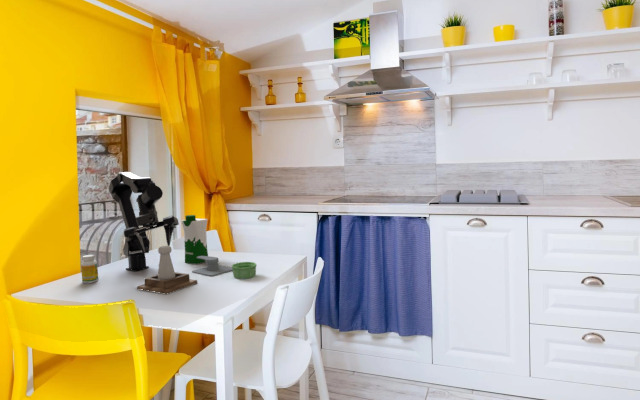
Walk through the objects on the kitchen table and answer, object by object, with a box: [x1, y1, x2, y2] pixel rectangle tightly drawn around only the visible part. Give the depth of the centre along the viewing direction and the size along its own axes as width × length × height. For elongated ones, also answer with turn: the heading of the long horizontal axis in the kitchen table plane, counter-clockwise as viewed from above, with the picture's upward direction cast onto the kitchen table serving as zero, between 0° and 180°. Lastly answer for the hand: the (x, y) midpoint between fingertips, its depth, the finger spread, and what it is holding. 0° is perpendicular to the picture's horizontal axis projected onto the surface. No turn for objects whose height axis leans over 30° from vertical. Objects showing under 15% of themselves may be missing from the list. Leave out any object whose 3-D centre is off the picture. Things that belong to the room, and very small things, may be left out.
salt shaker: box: [157, 245, 176, 280], centre depth 158 cm, size 6×6×13 cm
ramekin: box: [231, 261, 257, 280], centre depth 169 cm, size 9×9×4 cm
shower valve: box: [191, 255, 233, 278], centre depth 179 cm, size 12×6×15 cm
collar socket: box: [136, 271, 198, 295], centre depth 159 cm, size 14×14×4 cm
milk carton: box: [180, 214, 209, 265], centre depth 194 cm, size 9×9×20 cm
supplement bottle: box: [80, 254, 99, 284], centre depth 168 cm, size 5×5×10 cm
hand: (156, 249), depth 168 cm, fingers open, 9 cm apart
